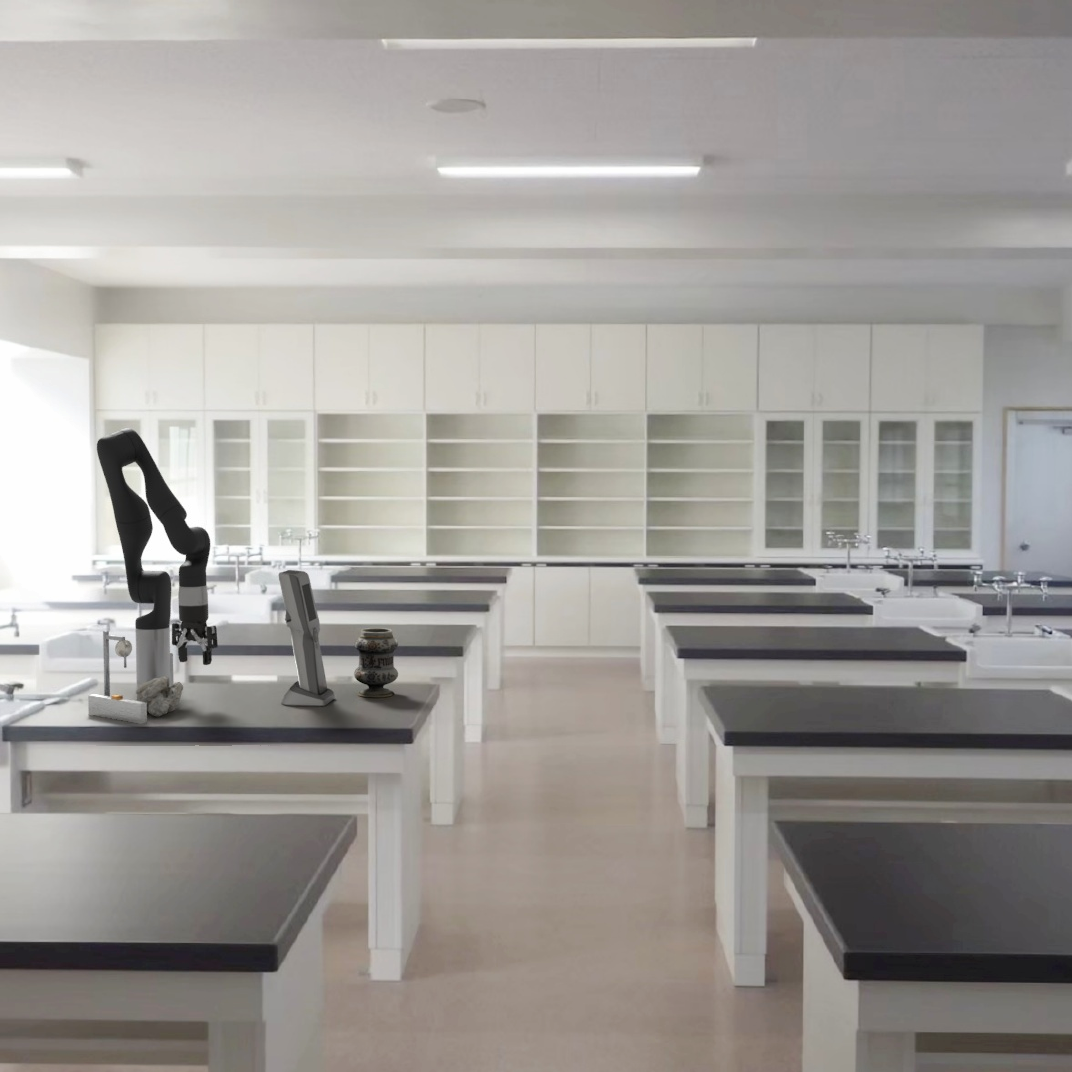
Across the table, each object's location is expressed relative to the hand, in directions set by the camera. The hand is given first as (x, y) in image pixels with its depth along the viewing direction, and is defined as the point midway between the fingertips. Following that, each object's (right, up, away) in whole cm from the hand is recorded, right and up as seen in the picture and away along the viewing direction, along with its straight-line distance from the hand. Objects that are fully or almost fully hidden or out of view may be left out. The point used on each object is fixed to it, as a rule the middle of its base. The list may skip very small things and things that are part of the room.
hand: (195, 663), depth 336 cm
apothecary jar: (+47, -10, +12) cm, 49 cm away
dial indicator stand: (-21, -11, -3) cm, 24 cm away
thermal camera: (+30, -11, +2) cm, 32 cm away
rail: (-14, -12, -20) cm, 27 cm away
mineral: (-6, -12, -12) cm, 18 cm away
